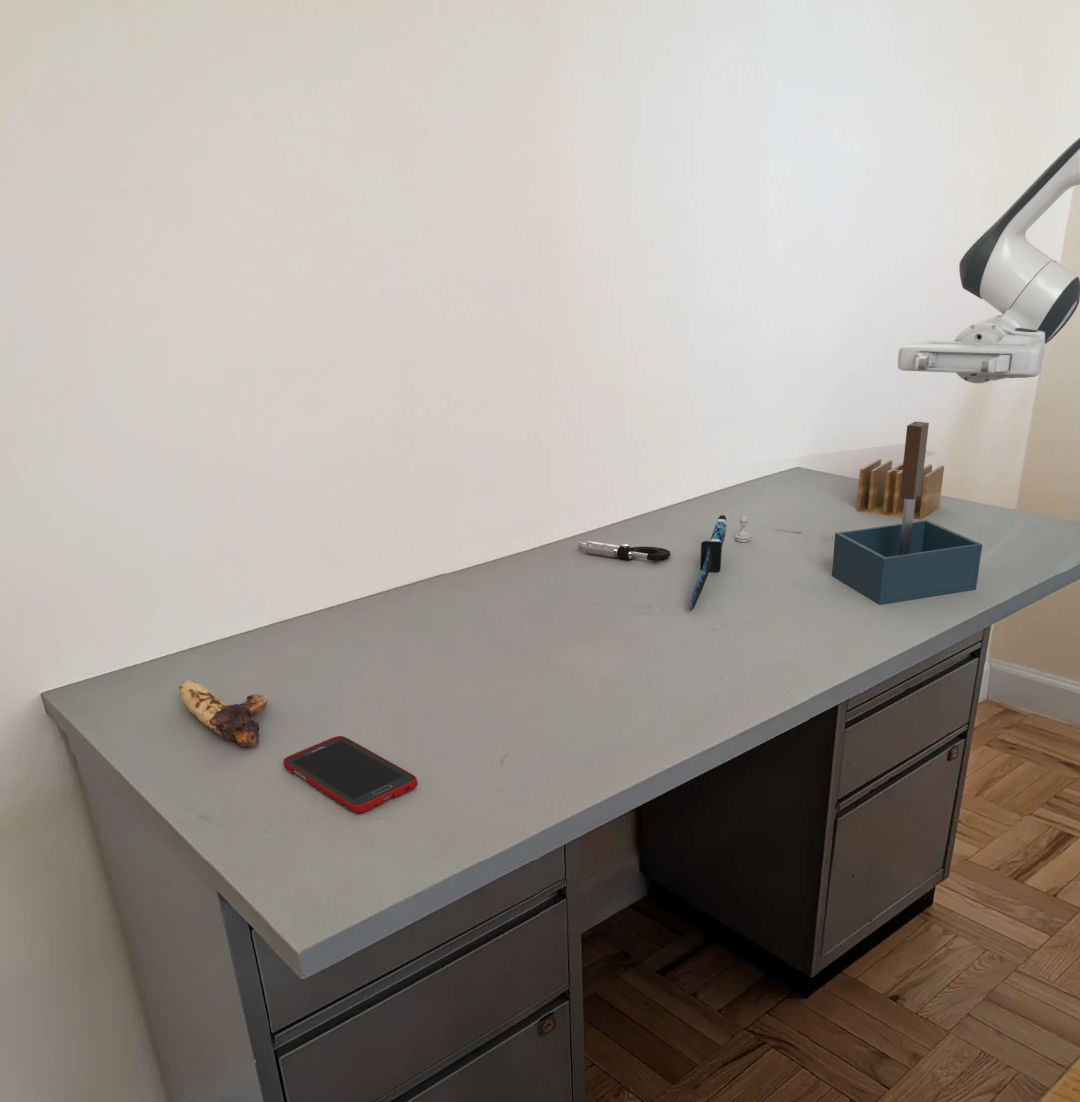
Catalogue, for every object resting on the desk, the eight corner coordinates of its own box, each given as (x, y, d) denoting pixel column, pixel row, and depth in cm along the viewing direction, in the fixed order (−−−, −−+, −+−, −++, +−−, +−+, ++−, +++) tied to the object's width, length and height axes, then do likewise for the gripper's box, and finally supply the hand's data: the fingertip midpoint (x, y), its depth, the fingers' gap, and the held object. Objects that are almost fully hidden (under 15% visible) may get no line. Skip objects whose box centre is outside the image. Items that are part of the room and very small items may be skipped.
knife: (717, 538, 170) (717, 512, 167) (736, 539, 169) (736, 513, 166) (672, 625, 146) (670, 596, 144) (693, 627, 145) (692, 598, 143)
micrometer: (678, 553, 168) (678, 538, 167) (656, 566, 163) (656, 551, 162) (599, 541, 176) (599, 527, 175) (576, 553, 171) (576, 538, 170)
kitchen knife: (890, 580, 150) (906, 425, 140) (898, 573, 152) (915, 421, 142) (904, 582, 149) (921, 426, 139) (912, 576, 151) (929, 422, 141)
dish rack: (852, 517, 181) (856, 470, 177) (874, 503, 187) (879, 457, 184) (921, 526, 174) (926, 477, 170) (941, 511, 181) (947, 464, 177)
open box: (922, 562, 158) (926, 519, 155) (976, 589, 147) (982, 544, 144) (831, 575, 155) (834, 532, 152) (879, 604, 144) (884, 558, 141)
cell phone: (358, 817, 101) (357, 808, 101) (280, 767, 111) (279, 759, 110) (421, 786, 106) (420, 778, 105) (341, 741, 115) (340, 733, 115)
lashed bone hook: (304, 737, 118) (237, 686, 131) (299, 700, 116) (232, 651, 129) (227, 763, 113) (164, 707, 126) (220, 724, 111) (158, 671, 123)
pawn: (733, 541, 172) (734, 518, 170) (736, 537, 174) (736, 513, 172) (749, 542, 171) (750, 518, 169) (751, 537, 173) (752, 514, 172)
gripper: (917, 328, 163) (883, 340, 154) (1056, 331, 152) (1029, 344, 142) (913, 370, 166) (880, 384, 157) (1050, 376, 155) (1023, 391, 145)
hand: (952, 365), depth 149 cm, fingers open, 8 cm apart
